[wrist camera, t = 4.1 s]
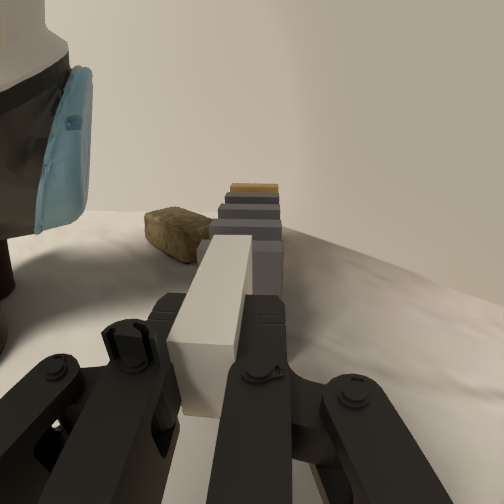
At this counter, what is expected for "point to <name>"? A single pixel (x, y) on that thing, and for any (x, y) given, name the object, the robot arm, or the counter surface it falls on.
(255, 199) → the domino
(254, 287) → the domino
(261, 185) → the domino
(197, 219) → the stone block
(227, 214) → the domino
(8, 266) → the coffee mug
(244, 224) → the domino
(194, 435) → the counter surface
